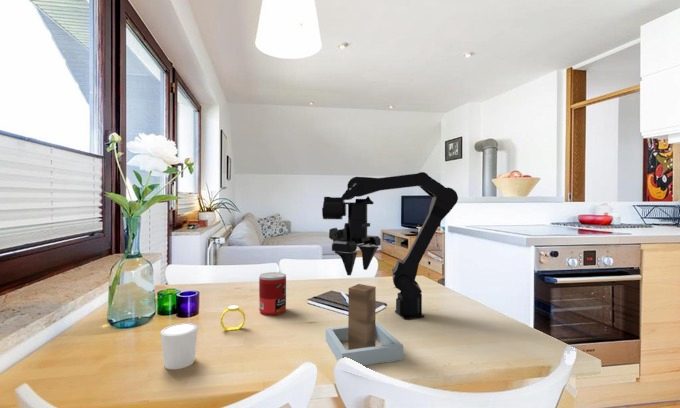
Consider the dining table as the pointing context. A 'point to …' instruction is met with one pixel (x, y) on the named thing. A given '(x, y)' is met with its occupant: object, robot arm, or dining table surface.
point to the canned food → (272, 293)
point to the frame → (365, 356)
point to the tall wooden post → (361, 316)
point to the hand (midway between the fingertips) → (357, 272)
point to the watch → (232, 308)
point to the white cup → (179, 345)
